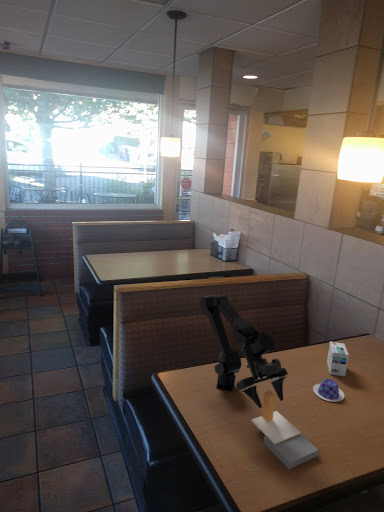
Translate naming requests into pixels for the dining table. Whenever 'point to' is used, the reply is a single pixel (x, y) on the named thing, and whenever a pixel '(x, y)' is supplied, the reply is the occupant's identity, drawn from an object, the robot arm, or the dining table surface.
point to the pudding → (328, 390)
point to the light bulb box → (337, 359)
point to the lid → (274, 421)
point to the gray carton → (292, 450)
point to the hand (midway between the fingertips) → (271, 404)
